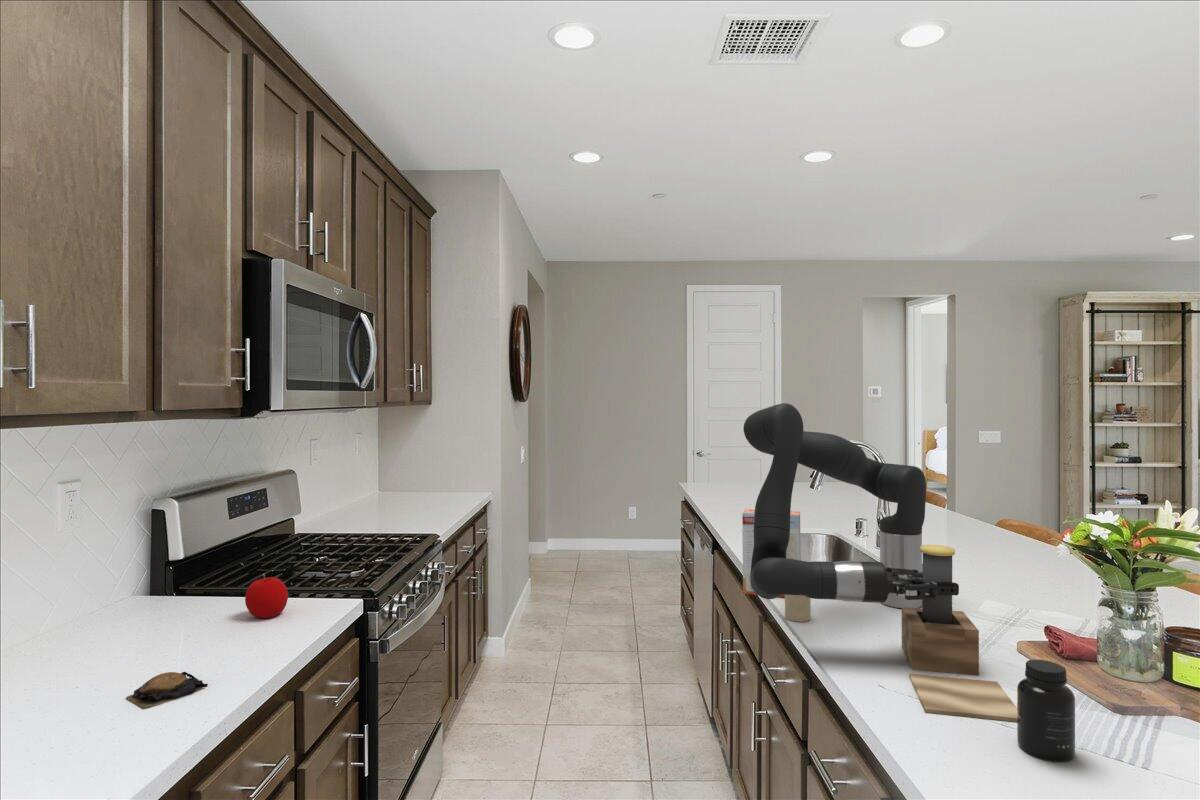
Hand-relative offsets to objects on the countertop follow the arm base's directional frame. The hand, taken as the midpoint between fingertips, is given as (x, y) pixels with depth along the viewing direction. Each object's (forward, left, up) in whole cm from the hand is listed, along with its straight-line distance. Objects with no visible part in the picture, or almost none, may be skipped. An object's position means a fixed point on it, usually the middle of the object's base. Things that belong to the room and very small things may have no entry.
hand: (951, 584), depth 127 cm
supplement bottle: (+14, +29, -15) cm, 35 cm away
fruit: (+124, -76, -15) cm, 146 cm away
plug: (+2, -1, -8) cm, 8 cm away
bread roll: (+135, -37, -15) cm, 141 cm away
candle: (+12, -31, -15) cm, 36 cm away
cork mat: (+11, +12, -14) cm, 22 cm away
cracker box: (+6, -49, -15) cm, 52 cm away
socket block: (+2, -1, -14) cm, 15 cm away
